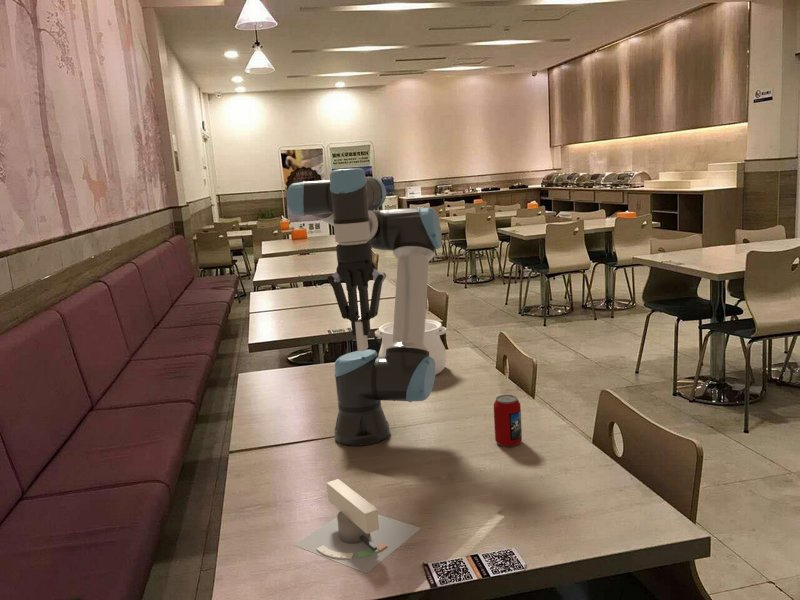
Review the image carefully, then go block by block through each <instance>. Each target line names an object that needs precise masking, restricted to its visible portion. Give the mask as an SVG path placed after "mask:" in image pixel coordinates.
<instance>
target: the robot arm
mask: <svg viewBox="0 0 800 600" xmlns="http://www.w3.org/2000/svg"><path fill="white" fill-rule="evenodd" d="M365 172H366V171H365V170H364V168H362V167H361V168H360V167H358V168H356V167H354V168H342V169H333V170H331V172H330V173H329V179H327V180H314V181H313V180H312V181H309V180H308V181H301V182H294V183H291V184H290V185H289V186H288V188H287V191H286V204H287V207H288V209H289V212H290V213H291V214H292V215H295V216H304V217H305V216H312V217H314V218H317V219H319V220H321V221H322V222H325V223H326V224H328V225H331V226H332V227H333V228H334V229H333V230H334V241H335V243H338V244H337V245H336V247H335V248H336V249H335V250H336V259H337V260H336V262H337V266H336V271H335V272H334V273H333V274H332V275H331V274H330V275H329V276H327V278H326V280H327V281H328V283H329V284H330V286H331V287H332V290H333V292H334V296H335V300H336V302H337V305H338V308H339V312H340V314H341V315H340V316H341V317H342V319H344V320H345V319H346V320H349V321H350V324H351V325H350V326H351V334H352V336H356V347H357V350H355V351H352V352H348V353H345V354H343V355H340V356H339V357H338V358H337V359H336V360H335V362H334V378H335V387H336V388H335V389H336V396H337V405H338V406H337V407H338V411H337V417H336V421H335V426H334V431H333V432H334V439H335V441H336V442H338V443H339V444H342V445H345V446H352V447H357V446H358V447H359V446H361V447H362V446H369V445H372V444H377V443H379V442H382V441H384V440H385V439H387V438H388V437H389V436H390V433H391V432H390V431H391V430H390V423H389V421H388V420H387V418H386V415H385V413H384V410H383V408H382V403H381V402H382V401H385V402H386V401H389V402H390V401H391V402H407V403H412V402H423V401H426V400H427V399H428V398H429V396H430V395H431V392H433V391H432V390H433V387H434V384H435V379H436V375H435V372H436V370H435V361H434V359H433V358H432V357H430V356H429V350H428V349H427V348H426V347H425V346H424V336H425V319H426V318H427V317H426V314H427V313H426V312H427V299H428V298H427V297H428V295H427V294H428V280H429V279H428V278H429V262H430V261H431V260H432V259H433V258H434V257H435V250H438V249H440V248H441V247H442V244H443V237H442V235H443V234H442V227H441V223H440V219H439V217H438V213H437V211H436V210H435V209H434V208H432V207H425V206H424V207H420V206H417V207H408V208H406V207H405V208H394V209H392V208H391V209H378V208H380V207H381V206H382V205H383V204H384V203H385V202H386V198H387V189H386V186H385V184H384V183H383V181H381V180H380V179H379V178H377V177H373V176H366V173H365ZM372 249H374V250H379V251H380V250H381V251H392V255H393V256H394V257H395V258H396V259H397V269H396V284H395V296H394V297H395V298H394V299H395V300H394V314H393V322H394V325H393V339H392V344H391V345H390V346H389V347H388V348H386V356H385V357H378V356H379V353H378V352H377V350H375V349H368V348H369V344H368V343H369V342H368V336H369V335H370V334H371V332H372V331H371V320H372V319H374V318H375V317H377V316H378V315H379V307H380V299H381V294H382V293H381V292H382V288H383V287H382V286H383V283H384V281H385V279H386V277H387V274H386V273H385V272H380V271H379V270H377V269H376V266H375V264H374V262H373V251H372ZM371 279H372V281H373V285H372V289H371V299H369V282H370V280H371ZM341 280H342V281H343V282H344V284H345V288H346V291H347V296H346V294H345V290H344V287H343V284H342V282H341ZM358 297H359V298H358ZM358 299H359V300H358ZM369 300H370V301H369ZM358 301H359V303H358ZM369 302H370V303H369ZM359 309H360V313H359Z"/></svg>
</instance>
